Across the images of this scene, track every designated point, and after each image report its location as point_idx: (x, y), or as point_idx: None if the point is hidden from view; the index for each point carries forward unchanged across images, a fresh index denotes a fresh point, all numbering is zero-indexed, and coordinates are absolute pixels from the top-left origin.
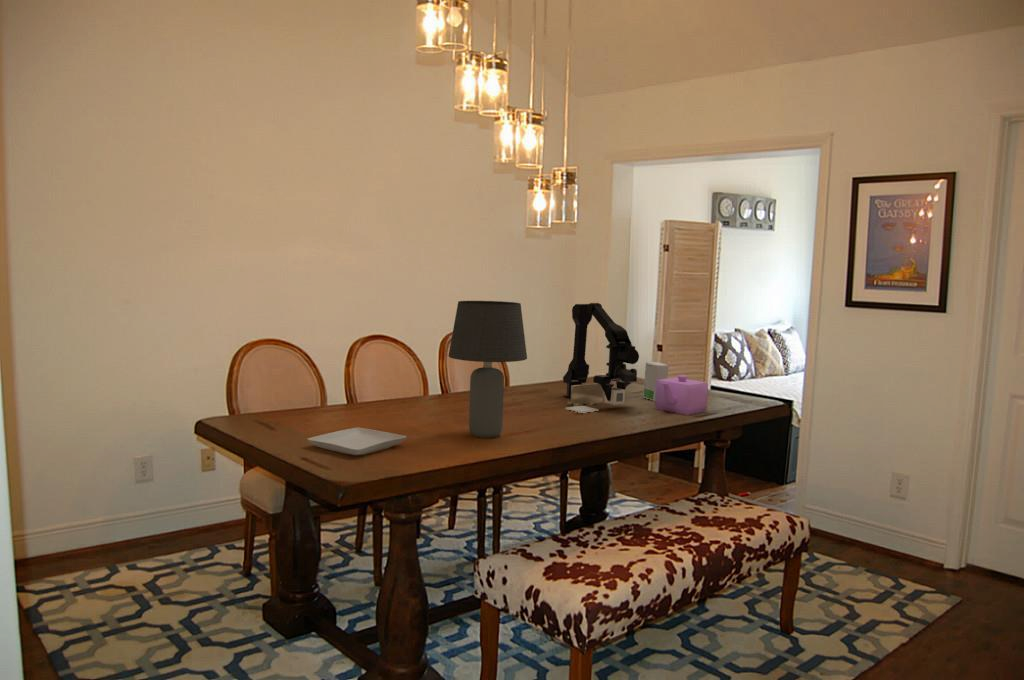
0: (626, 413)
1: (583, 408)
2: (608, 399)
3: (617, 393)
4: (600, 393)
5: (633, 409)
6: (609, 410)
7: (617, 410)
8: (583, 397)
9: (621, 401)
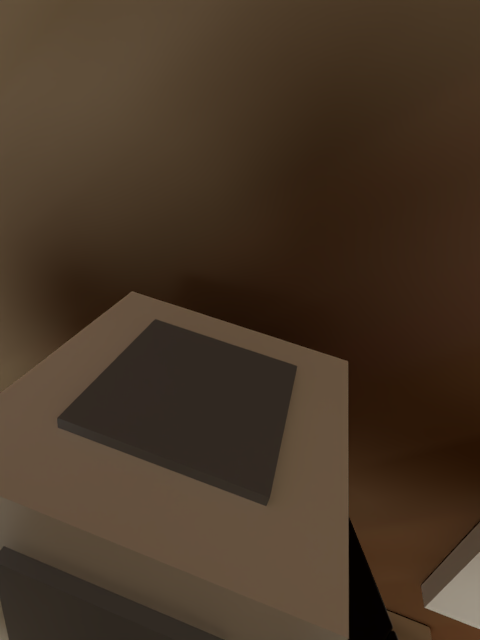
0: (435, 43)
1: None
2: None
3: (254, 491)
4: None
5: (67, 168)
6: (375, 360)
7: (296, 288)
8: None
9: (172, 328)
